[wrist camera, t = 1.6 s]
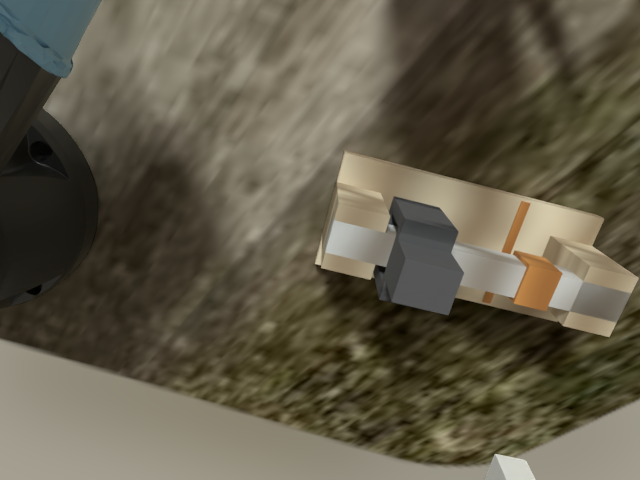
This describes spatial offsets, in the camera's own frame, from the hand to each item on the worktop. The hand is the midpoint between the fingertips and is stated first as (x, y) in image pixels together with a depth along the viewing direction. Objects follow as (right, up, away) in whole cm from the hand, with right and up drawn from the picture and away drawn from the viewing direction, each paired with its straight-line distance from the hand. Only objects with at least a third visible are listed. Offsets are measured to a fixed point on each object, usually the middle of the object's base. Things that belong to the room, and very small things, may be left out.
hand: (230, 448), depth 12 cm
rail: (+11, +5, +24) cm, 27 cm away
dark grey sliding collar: (+8, +5, +21) cm, 22 cm away
